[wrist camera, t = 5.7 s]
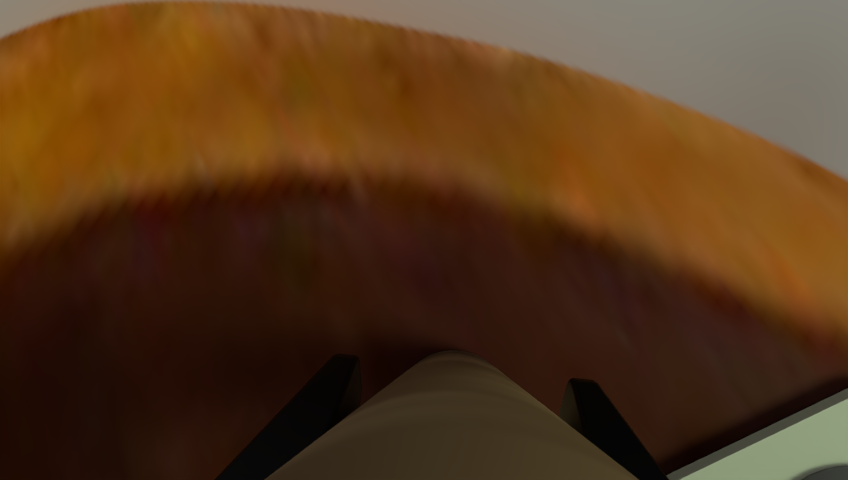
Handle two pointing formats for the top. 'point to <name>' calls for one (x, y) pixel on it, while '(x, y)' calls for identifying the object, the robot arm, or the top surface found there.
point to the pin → (452, 432)
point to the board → (784, 449)
